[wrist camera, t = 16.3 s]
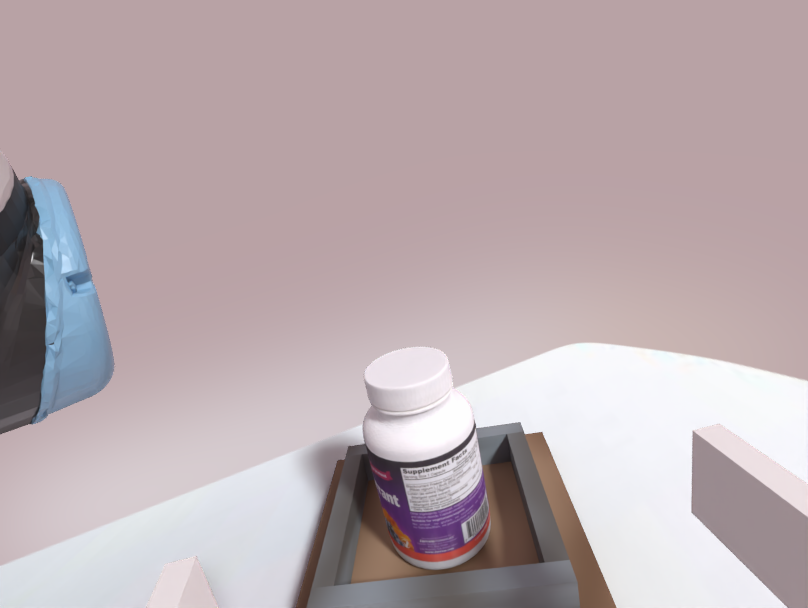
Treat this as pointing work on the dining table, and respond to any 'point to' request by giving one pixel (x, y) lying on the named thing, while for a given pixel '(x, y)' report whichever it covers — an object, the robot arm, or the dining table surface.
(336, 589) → the trough board
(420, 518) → the pill bottle
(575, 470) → the dining table surface
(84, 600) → the dining table surface
